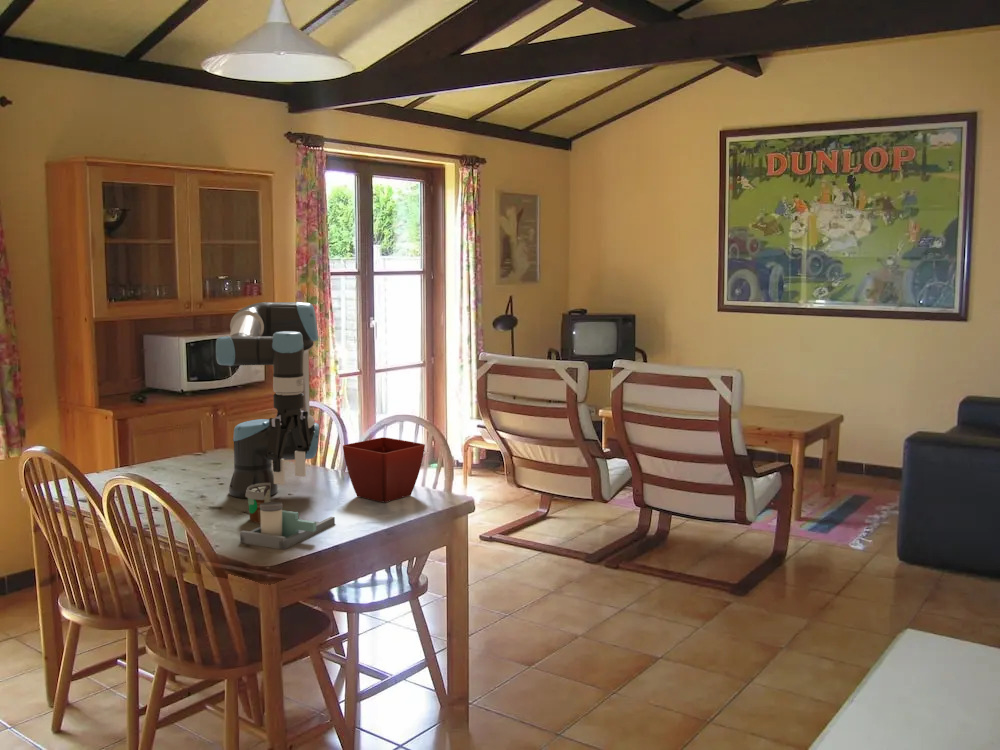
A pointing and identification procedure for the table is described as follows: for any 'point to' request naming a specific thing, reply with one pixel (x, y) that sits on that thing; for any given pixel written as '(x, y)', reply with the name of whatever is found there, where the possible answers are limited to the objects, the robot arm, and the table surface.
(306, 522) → the pusher
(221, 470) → the table surface
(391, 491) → the plant pot
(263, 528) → the jar
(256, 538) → the grey tray
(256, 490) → the food container
